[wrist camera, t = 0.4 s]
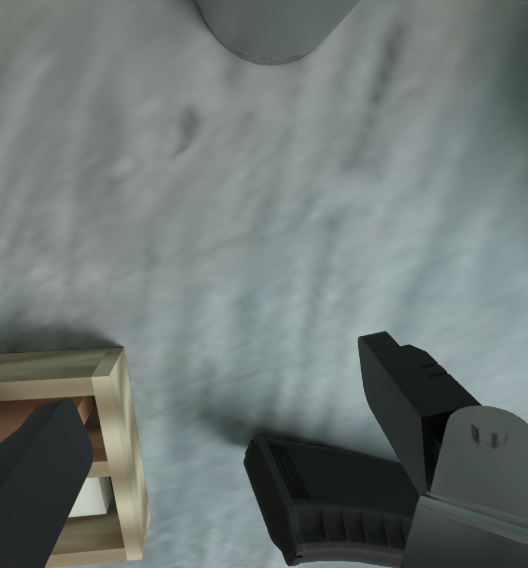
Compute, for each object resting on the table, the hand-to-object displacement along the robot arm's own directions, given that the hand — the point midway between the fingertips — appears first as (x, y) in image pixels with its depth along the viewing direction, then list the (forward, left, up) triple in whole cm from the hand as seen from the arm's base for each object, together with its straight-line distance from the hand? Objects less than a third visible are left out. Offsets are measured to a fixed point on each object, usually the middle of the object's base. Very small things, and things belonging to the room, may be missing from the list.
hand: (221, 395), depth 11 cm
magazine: (+24, +15, -19) cm, 34 cm away
